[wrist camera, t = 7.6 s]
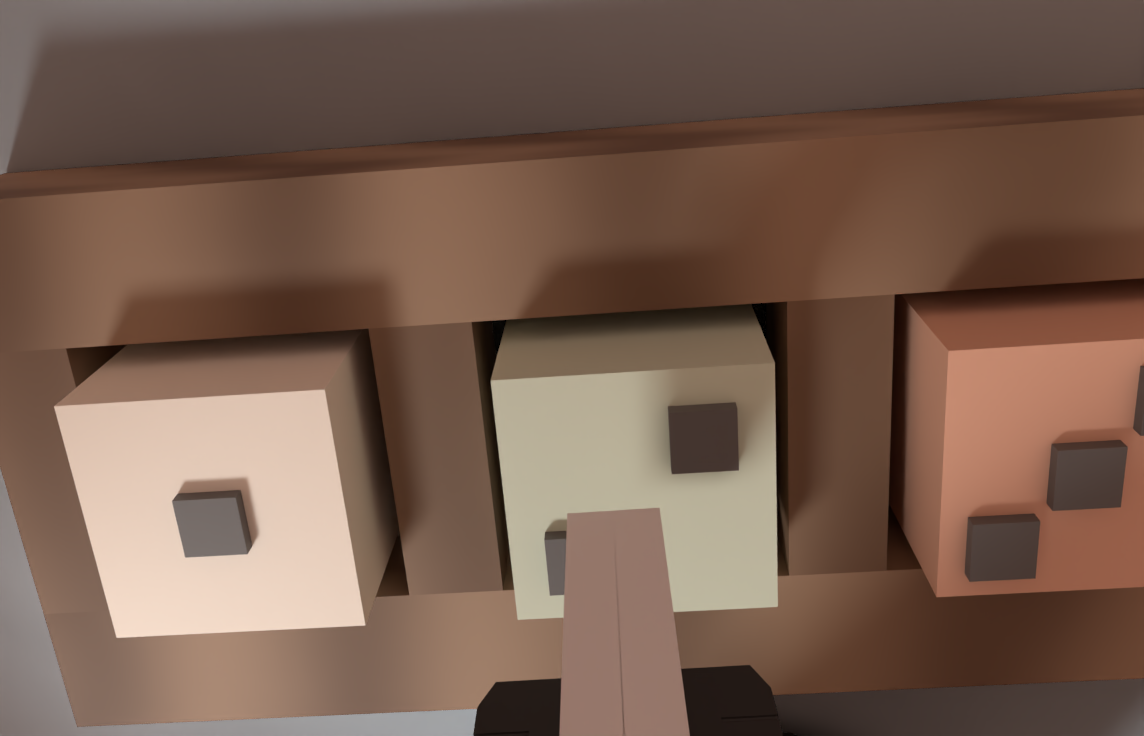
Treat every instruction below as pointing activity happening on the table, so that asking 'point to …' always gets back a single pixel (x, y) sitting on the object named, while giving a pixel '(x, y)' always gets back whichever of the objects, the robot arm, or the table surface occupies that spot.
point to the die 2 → (641, 446)
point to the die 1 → (234, 482)
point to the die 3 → (1021, 436)
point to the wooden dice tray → (563, 288)
